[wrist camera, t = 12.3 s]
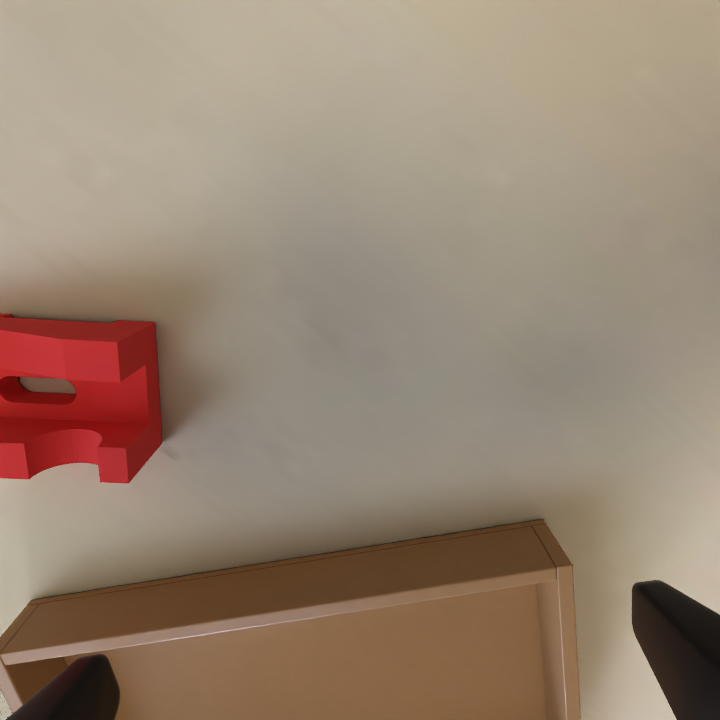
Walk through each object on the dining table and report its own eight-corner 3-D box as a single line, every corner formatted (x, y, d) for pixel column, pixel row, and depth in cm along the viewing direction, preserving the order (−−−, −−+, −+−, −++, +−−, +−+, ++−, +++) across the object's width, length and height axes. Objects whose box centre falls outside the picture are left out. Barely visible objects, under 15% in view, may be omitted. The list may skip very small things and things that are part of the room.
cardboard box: (543, 518, 20) (573, 565, 17) (559, 746, 24) (585, 813, 21) (30, 599, 21) (-17, 656, 18) (123, 809, 24) (95, 882, 22)
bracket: (155, 322, 17) (117, 342, 15) (162, 443, 19) (128, 483, 16) (-28, 312, 17) (-103, 330, 14) (-7, 435, 19) (-73, 475, 16)
